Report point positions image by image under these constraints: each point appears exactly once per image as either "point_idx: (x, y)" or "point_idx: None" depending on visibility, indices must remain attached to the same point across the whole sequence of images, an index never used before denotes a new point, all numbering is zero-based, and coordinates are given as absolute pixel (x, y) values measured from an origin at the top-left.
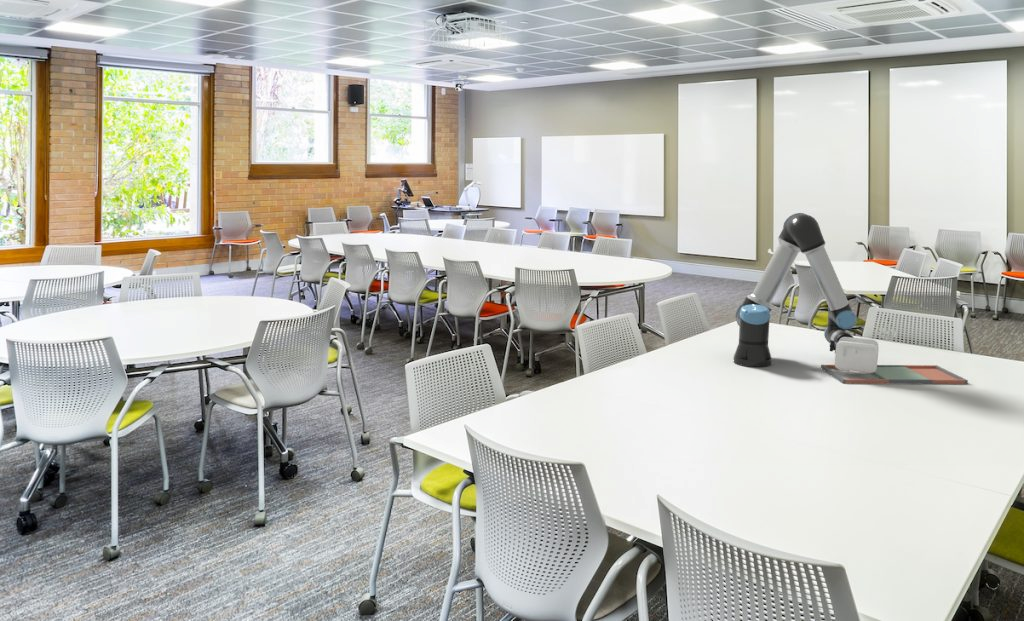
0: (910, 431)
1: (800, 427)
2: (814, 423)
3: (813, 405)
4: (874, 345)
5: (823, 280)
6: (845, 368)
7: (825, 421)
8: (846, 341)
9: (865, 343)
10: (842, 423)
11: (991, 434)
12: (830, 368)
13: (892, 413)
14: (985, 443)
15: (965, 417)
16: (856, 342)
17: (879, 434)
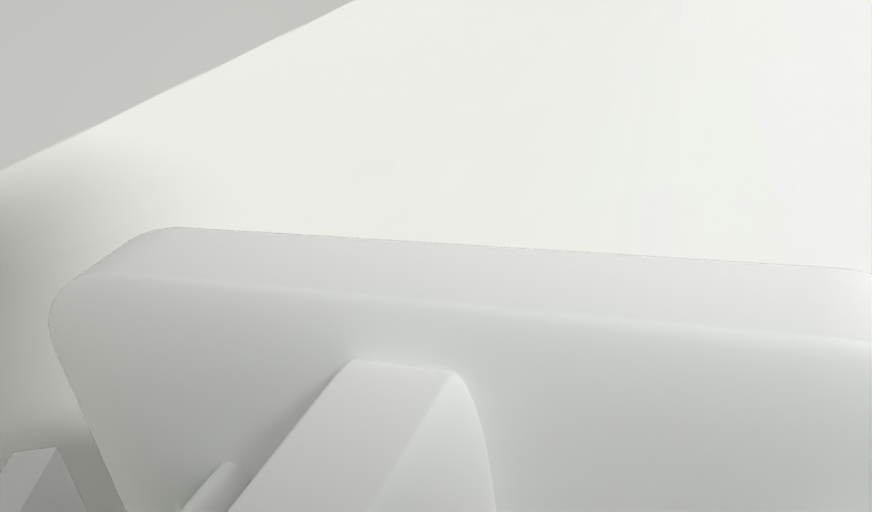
0: (475, 54)
1: (841, 5)
2: (800, 25)
3: (854, 107)
4: (133, 239)
5: None
6: None
7: (763, 39)
8: (729, 316)
9: (248, 277)
10: (698, 42)
11: (224, 88)
12: None
13: (475, 123)
14: (296, 55)
15: (180, 153)
16: (444, 297)
17: (582, 29)
